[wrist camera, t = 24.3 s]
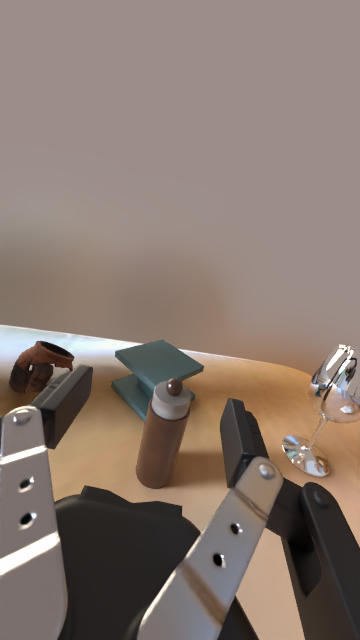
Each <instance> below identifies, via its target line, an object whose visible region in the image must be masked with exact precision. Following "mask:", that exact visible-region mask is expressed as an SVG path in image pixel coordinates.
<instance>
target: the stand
mask: <svg viewBox="0 0 360 640" xmlns="http://www.w3.org/2000/svg"><path fill="white" fill-rule="evenodd" d="M115 357H116V358H117V359H118V360H120V361H121V362H122V363H123V364H124V365H125V366H126V367H127V368H129V369H130V370H131V371H132V372H133V373H134V374H132V375H129V376H126V377H123V378H120V379H117V380H114V381H112V384H111V387H112V388H113V389H114V390H115V391H116V392H117V393H118V394H119V395H120V396H121V397H122V398H123V399H124V400H125V401H126V402H127V403H128V404H129V405H130V407H131V408H132V409H133V410H134V411H135V412H136V413H137V414H138V415H139V416H140V417H141V418H142V419H143V420H144V421H146V416H147V411H148V406H149V401H150V399H151V398H152V397H153V394H154V389H155V387H156V386H157V385H158V384H159V383H161V382H164V381H168V380H170V379H171V378H178V379H179V380H181V381H183V380H185V379H187V378H189V377H192V376H194V375H196V374H198V373H200V372H202V371H203V368H204V366H203V365H201V364H200V363H198V362H197V361H195V360H194V359H192V358H190V357H189V356H187V355H186V354H184V353H183V352H181V351H180V350H178V349H177V348H175V347H174V346H172V345H170V344H169V343H167V342H165V341H164V340H159V341H155V342H151V343H147V344H143V345H138V346H134V347H130V348H126V349H122V350H118V351H116V352H115ZM187 389H188V388H187ZM188 390H189V389H188ZM189 391H190V390H189ZM190 393H191V400H190V402H191V401H193V400H194V399H195V396H196V395H195V394H194V393H193V392H191V391H190Z"/></svg>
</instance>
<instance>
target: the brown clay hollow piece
mask: <svg viewBox="0 0 360 640" xmlns="http://www.w3.org/2000/svg"><path fill="white" fill-rule="evenodd" d="M73 358H74V356H73V355H72V354H71V353H69V352H68V351H66V350H65V349H63V348H61V347H59V346H57V345H54V344H51V343H48V342H45V341H37V342H36V344H35V346H34V347H31V348H29V349H27V350H26V351H24V352H22V354H21V355H20V356H19V358H18V360H17V361H16V362H15V365H14V366H13V369H12V372H11V377H10V380H9V384H10V387H11V388H12V389H13V390H14V391H16V392H18V393H20V394H24V393H25V389H26V388H28V390H30V391H31V392H41V391H43V390H44V388H45V387H46V384H47V381H48V380H49V379H50V377H51V376H52V374H53V366H52V365H50V364H55V367H61V368H65V367H66V368H69V371H70V372H72V371H73V366H72V361H73V360H74V359H73ZM30 365H32V366H33V367H32V370H30V371H29V367H30Z"/></svg>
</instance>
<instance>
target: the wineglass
mask: <svg viewBox="0 0 360 640" xmlns="http://www.w3.org/2000/svg"><path fill="white" fill-rule="evenodd" d="M308 396H309V400H310V403H311V404H312V406H313V408H314V409H315V411H316V412H317V413H318V414H319V415H320V421H319V423H318V425H317V428H316V429H315V431H314V433H313V435H312V437H311V439H310V441H309V442H308V441H307V440H305V439H303V438H300V437H297V436H287V437H285V438H284V439H283V440H282V448H283V451H284V453H285V455H286V456H287V458H288V459H289V460H290V461H291V462H292V463H293V464H294V465H295V466H296V467H297V468H299V469H300V470H302V471H303V472H305V473H307V474H309V475H312V476H315V477H324V476H326V475H328V473H329V470H330V467H329V463H328V461H327V459H326V457H325V456H324V455H323V453H322V452H321V451H320V450H319V449H318V448H317V447H316V446H314V445H313V444H314V442H315V441H316V439H317V437H318V435H319V433H320V432H321V430H322V428H323V427H324V425H325V424H326V423H327V422H328V421H332V422H335V423H352V422H356V421H358V420H360V349H358V348H355V347H352V346H348V345H342V344H341V345H338V346H337V347H336V348H335V349H334V351H333V352H332V353H331V354H330V355H329V356H328V357H327V358H326V360H325V361H324V362H323V363H322V365H321V366H320V367H319V368H318V370H317V371H316V373H315V374H314V376H313V377H312V379H311V381H310V383H309V386H308Z"/></svg>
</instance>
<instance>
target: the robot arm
mask: <svg viewBox="0 0 360 640" xmlns="http://www.w3.org/2000/svg"><path fill="white" fill-rule="evenodd" d="M92 375H93V367H90V366H86V365H81V364H79V365H77V366H76V368H75V369H74V370H73V371H72V372H70V371H65V372H63V373H61V374H59V375H58V376H57V377H56V378H55V379H54V380H53V381H52V383H50V384H49V385H48V386H47V388H45V389H44V390H43V391H42V392H41V393H40V394H39V395H38V396H37V397H36V398H35V399H34V400H33V401H32V402H31V403H30V404H29V405H28V406H24V407H19V408H16V409H14V410H12V411H10V412H9V413H8V414H7V415H6V416H2V417H0V640H259V638H258V636H257V635H256V633H255V631H254V629H253V627H252V625H251V623H250V622H249V620H248V618H247V616H246V614H245V612H244V610H243V608H242V607H241V605H240V603H239V601H238V599H237V597H236V592H237V590H238V588H239V585H240V583H241V581H242V578H243V576H244V574H245V572H246V569H247V567H248V565H249V562H250V560H251V558H252V555H253V553H254V551H255V549H256V546H257V544H258V542H259V539H260V537H261V535H262V532H263V530H264V528H265V527H266V528H267V529H269V530H271V531H272V532H274V533H276V534H277V535H279V536H281V540H282V545H283V549H284V553H285V557H286V561H287V565H288V570H289V574H290V578H291V582H292V586H293V590H294V595H295V599H296V603H297V607H298V611H299V615H300V620H301V624H302V628H303V632H304V636H305V640H360V547H359V545H358V543H357V541H356V539H355V537H354V535H353V533H352V531H351V529H350V527H349V525H348V523H347V521H346V519H345V517H344V515H343V513H342V511H341V509H340V507H339V505H338V503H337V501H336V499H335V498H334V497H333V496H332V494H331V493H330V492H329V491H327V490H326V489H325V488H324V487H322V486H321V485H319V484H317V483H313V482H308V483H306V484H305V485H304V486H303V487H301V486H299V485H297V484H295V483H293V482H291V481H289V480H287V479H286V478H284V477H283V475H282V473H281V471H280V469H279V468H278V467H277V465H276V464H275V463H273V462H272V461H271V460H270V459H269V456H268V453H267V450H266V447H265V444H264V441H263V438H262V436H261V432H260V429H259V426H258V423H257V420H256V419H255V417H254V416H253V415H252V413H251V412H249V411H246V410H245V407H244V403H243V401H241V400H237V399H232V398H229V399H228V401H227V404H226V406H225V409H224V412H223V415H222V418H221V422H220V433H221V441H222V449H223V457H224V464H225V472H226V480H227V488H231V490H230V491H229V493H228V494H227V496H226V497H225V499H224V500H223V502H222V503H221V505H220V506H219V507H218V509H217V510H216V512H215V513H214V515H213V516H212V518H211V519H210V521H209V522H208V524H207V525H206V527H205V528H204V530H203V531H202V533H201V532H200V531H199V530H198V529H197V528H196V526H195V525H194V524H192V523H191V522H190V521H189V520H188V519H186V518H185V517H183V516H182V506H179V505H174V504H169V503H165V502H160V501H153V502H141V503H131V502H129V501H127V500H125V499H123V498H121V497H120V496H118V495H116V494H114V493H112V492H111V491H109V490H104V489H100V488H95V487H90V486H86V485H85V486H84V488H83V490H82V492H81V494H77V495H72V496H68V497H65V498H62V499H60V500H58V501H56V502H54V497H53V490H52V482H51V474H50V467H49V459H48V452H47V448H50V449H55V448H56V446H57V445H58V443H59V442H60V440H61V439H62V437H63V436H64V434H65V433H66V431H67V430H68V428H69V427H70V425H71V424H72V422H73V421H74V419H75V418H76V416H77V415H78V413H79V412H80V410H81V409H82V407H83V406H84V404H85V403H86V401H87V400H88V398H89V395H90V392H91V386H92Z"/></svg>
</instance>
